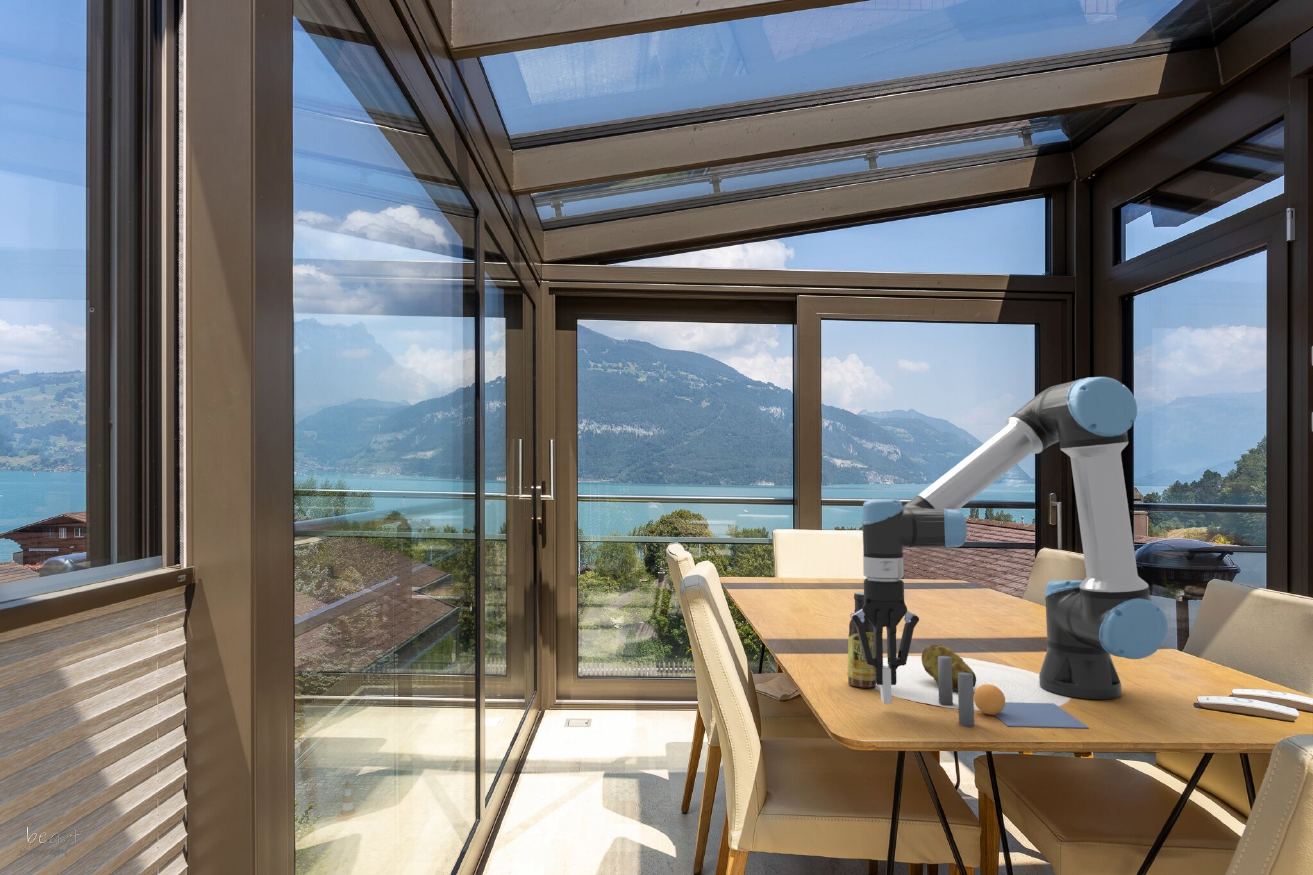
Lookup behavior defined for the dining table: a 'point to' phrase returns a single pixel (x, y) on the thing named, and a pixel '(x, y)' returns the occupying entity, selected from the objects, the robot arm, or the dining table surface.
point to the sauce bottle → (860, 651)
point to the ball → (989, 699)
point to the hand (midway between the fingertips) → (886, 701)
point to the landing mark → (1037, 716)
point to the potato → (931, 663)
